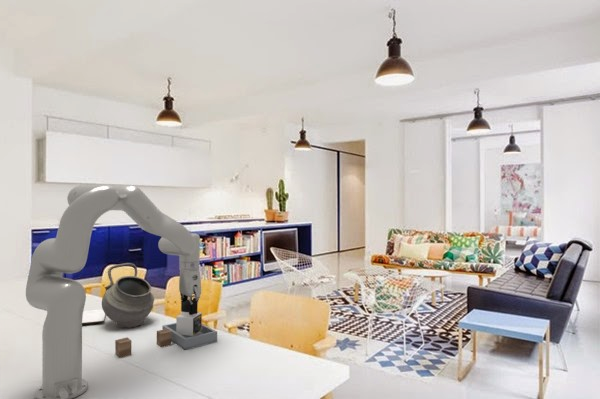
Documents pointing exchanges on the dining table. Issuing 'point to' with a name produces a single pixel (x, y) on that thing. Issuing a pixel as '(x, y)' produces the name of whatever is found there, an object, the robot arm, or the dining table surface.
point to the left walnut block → (123, 347)
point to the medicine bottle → (188, 321)
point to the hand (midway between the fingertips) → (189, 311)
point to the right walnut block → (164, 337)
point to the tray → (192, 337)
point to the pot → (127, 299)
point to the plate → (93, 316)
